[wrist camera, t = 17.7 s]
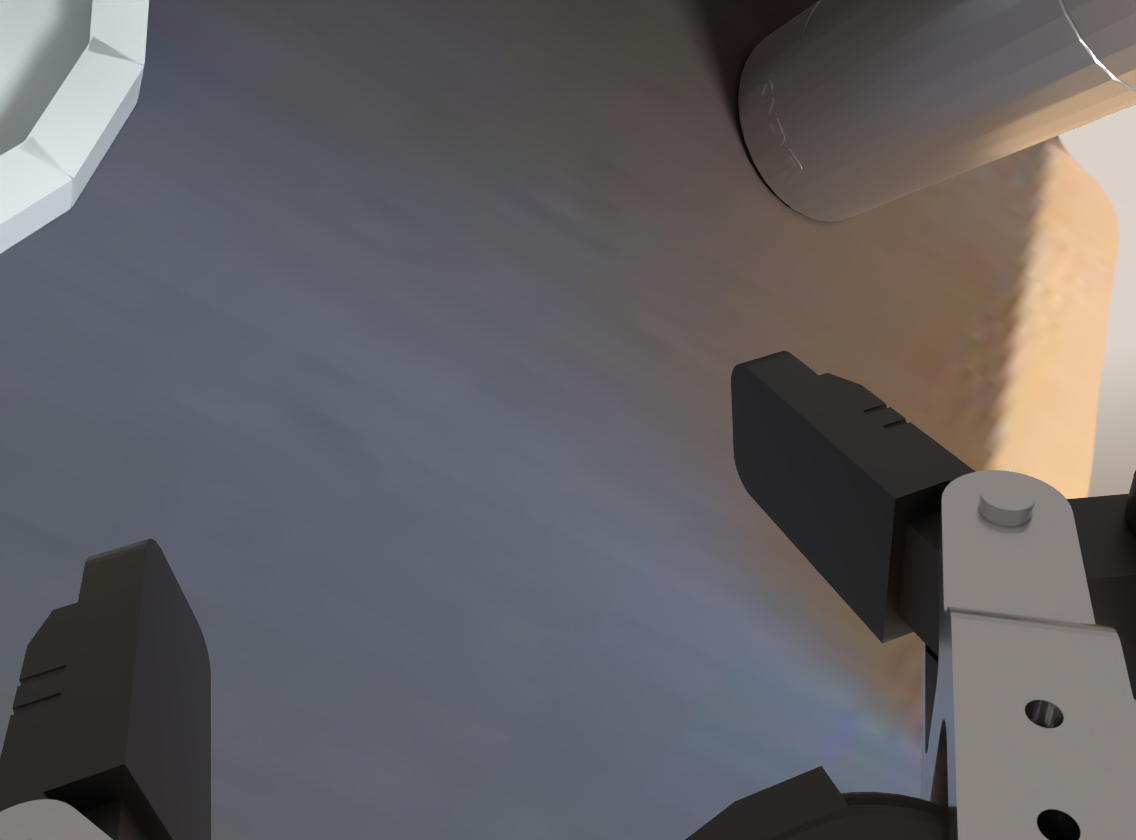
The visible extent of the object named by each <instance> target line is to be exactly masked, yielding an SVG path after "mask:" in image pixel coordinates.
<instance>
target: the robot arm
mask: <svg viewBox="0 0 1136 840" xmlns="http://www.w3.org/2000/svg"><path fill="white" fill-rule="evenodd" d="M738 103H739V115H740V123H741V127H742V131H743V135H744V139H745V143H746V145H747V148H748V150H749V152H750V155H751V157H752V160H753V162H754V164H755V166H756V167H757V169H758V171H759V172H760V174H761V175H762V177H763V179H764V180H765V182H766V183H767V184H768V185H769V187H770V188H771V189H772V190H773V191H774V193H775V194H776V195H777V196H778V197H779V198H780V199H781V200H783V201H784V202H785V203H786V204H787V205H789V206H790V207H791V208H792V209H793V210H795V211H797V212H799V213H801V214H803V215H805V216H806V217H808V218H812V219H816V220H819V221H823V222H833V221H841V220H844V219H847V218H850V217H853V216H856V215H858V214H861V213H863V212H866V211H868V210H871V209H873V208H876V207H878V206H881V205H883V204H886V203H888V202H891V201H893V200H896V199H898V198H901V197H903V196H906V195H908V194H911V193H914V192H917V191H919V190H922V189H924V188H927V187H929V186H932V185H934V184H937V183H939V182H942V181H944V180H947V179H949V178H952V177H954V176H957V175H960V174H962V173H965V172H967V171H970V170H972V169H975V168H977V167H980V166H982V165H985V164H987V163H990V162H992V161H995V160H997V159H1000V158H1002V157H1005V156H1007V155H1010V154H1012V153H1015V152H1017V151H1020V150H1022V149H1025V148H1027V147H1030V146H1032V145H1035V144H1037V143H1040V142H1042V141H1045V140H1047V139H1050V138H1052V137H1055V136H1057V135H1060V134H1062V133H1065V132H1067V131H1070V130H1072V129H1075V128H1077V127H1080V126H1082V125H1085V124H1087V123H1090V122H1093V121H1095V120H1097V119H1100V118H1102V117H1105V116H1107V115H1110V114H1112V113H1115V112H1118V111H1120V110H1122V109H1125V108H1128V107H1130V106H1133V105H1135V104H1136V0H819V1H817V2H816V3H814V4H813V5H812V6H810V7H809V8H807V9H806V10H804V11H803V12H802V13H800V14H799V15H797V16H796V17H794V18H793V19H792V20H790V21H789V22H787V23H786V24H784V25H783V26H781V27H780V28H779V29H777V30H776V31H774V32H773V33H771V34H770V35H769V36H767V37H766V38H764V39H763V40H762V41H761V42H760V43H759V44H758V45H757V46H756V47H755V48H754V49H753V51H752V52H751V54H750V56H749V57H748V59H747V61H746V62H745V65H744V69H743V72H742V75H741V78H740V86H739V96H738ZM731 390H732V417H733V445H734V459H735V464H736V468H737V471H738V474H739V476H740V479H741V481H742V483H743V485H744V487H745V489H746V490H747V492H748V493H749V494H750V496H751V497H752V498H753V499H754V500H755V501H756V502H757V503H758V505H759V506H760V507H761V508H762V509H763V510H764V511H765V512H766V514H767V515H768V516H769V517H770V518H771V519H772V520H773V521H774V523H775V524H776V525H777V526H778V527H779V528H780V529H781V530H782V531H783V533H784V534H785V535H786V536H787V537H788V538H789V539H790V540H791V542H792V543H793V544H794V545H795V546H796V547H797V548H798V549H799V550H800V552H801V553H802V554H803V555H804V556H805V557H806V558H807V559H808V561H809V562H810V563H811V564H812V565H813V566H814V567H815V568H816V569H817V571H818V572H819V573H820V574H821V575H822V576H823V577H824V578H825V580H826V581H827V582H828V583H829V584H830V585H831V586H832V587H833V588H834V590H835V591H836V592H837V593H838V594H839V595H840V596H841V597H842V599H843V600H844V601H845V602H846V603H847V604H848V605H849V606H850V608H851V609H852V610H853V611H854V612H855V613H856V614H857V615H858V616H859V618H860V619H861V620H862V621H863V622H864V623H865V624H866V625H867V627H868V628H869V629H870V630H871V631H872V632H873V633H874V634H875V635H876V637H877V638H878V639H879V640H880V641H881V642H882V643H885V642H888V641H890V640H893V639H896V638H898V637H901V636H903V635H906V634H909V633H911V632H915V633H916V634H917V635H918V636H919V637H920V638H921V639H922V640H923V641H924V648H923V656H922V772H921V796H920V799H919V798H914V797H909V796H905V795H900V794H890V793H880V792H850V793H842V794H841V793H840V792H839V790H838V789H837V788H836V786H835V785H834V783H833V782H832V780H831V779H830V778H829V776H828V775H827V773H826V772H825V770H824V769H823V768H822V766H820V767H818V768H815V769H813V770H811V771H808V772H806V773H803V774H801V775H798V776H796V777H794V778H791V779H789V780H786V781H784V782H781V783H779V784H777V785H774V786H772V787H769V788H767V789H764V790H762V791H760V792H757V793H755V794H752V795H750V796H747V797H745V798H743V799H740V800H738V801H735V802H734V803H733V804H731V805H730V806H729V807H727V808H726V809H725V810H723V811H722V812H721V813H720V814H718V815H717V816H716V817H714V818H713V819H712V820H710V821H709V822H708V823H707V824H705V825H704V826H703V827H701V828H700V829H699V830H697V831H696V832H695V833H694V834H692V835H691V836H690V837H688V838H687V839H686V840H1136V708H1135V703H1134V699H1135V700H1136V471H1135V474H1134V478H1133V481H1132V485H1131V489H1130V492H1129V494H1122V495H1110V496H1099V497H1088V498H1077V499H1066V498H1065V497H1064V496H1063V495H1062V494H1061V493H1060V492H1059V491H1057V490H1056V489H1055V488H1053V487H1052V486H1050V485H1048V484H1047V483H1045V482H1043V481H1041V480H1038V479H1036V478H1033V477H1030V476H1027V475H1024V474H1020V473H1015V472H1009V471H997V470H989V471H978V472H975V471H974V470H973V469H971V468H970V467H969V466H967V465H966V464H965V463H963V462H962V461H961V460H959V459H958V458H957V457H955V456H954V455H953V454H951V453H950V452H949V451H948V450H946V449H945V448H944V447H942V446H941V445H940V444H938V443H937V442H936V441H934V440H933V439H932V438H930V437H929V436H928V435H926V434H925V433H924V432H922V431H921V430H920V429H919V428H917V427H916V426H915V425H913V424H912V423H911V422H910V423H906V420H905V418H904V417H903V416H901V415H900V414H899V413H897V412H896V411H895V410H894V409H892V408H891V407H889V408H887V407H886V403H884V402H883V401H882V400H880V399H879V398H878V397H876V396H875V395H874V394H872V393H871V392H870V391H868V390H867V389H866V388H865V387H863V386H862V385H860V384H857V383H854V382H851V381H849V380H846V379H843V378H840V377H837V376H835V375H832V374H829V373H826V374H823V375H820V376H819V375H817V374H816V373H815V372H814V371H812V370H811V369H810V368H809V367H807V366H806V365H805V364H804V363H802V362H801V361H800V360H799V359H797V358H796V357H795V356H794V355H792V354H791V353H789V352H787V351H781V352H778V353H775V354H771V355H768V356H765V357H761V358H758V359H755V360H751V361H748V362H745V363H741V364H738V365H736V366H735V367H734V369H733V371H732V377H731ZM19 680H20V683H21V686H18V687H17V692H16V696H15V700H14V704H13V710H14V715H11V717H10V721H9V725H8V729H7V733H6V737H5V742H4V746H3V750H2V754H1V758H0V840H211V673H210V662H209V656H208V651H207V647H206V644H205V640H204V637H203V634H202V631H201V629H200V626H199V624H198V622H197V620H196V618H195V616H194V614H193V612H192V610H191V608H190V606H189V604H188V602H187V600H186V598H185V596H184V594H183V592H182V590H181V588H180V586H179V584H178V582H177V580H176V578H175V576H174V574H173V572H172V570H171V568H170V566H169V564H168V562H167V560H166V558H165V556H164V554H163V552H162V550H161V548H160V547H159V545H158V544H157V543H156V542H155V541H154V540H153V539H148V540H144V541H141V542H138V543H134V544H131V545H128V546H124V547H121V548H117V549H114V550H111V551H107V552H104V553H101V554H97V555H94V556H91V557H89V558H88V559H87V560H86V563H85V567H84V573H83V578H82V583H81V589H80V594H79V600H78V603H75V604H71V605H68V606H65V607H62V608H58V609H55V610H53V611H52V612H51V614H50V615H49V616H48V618H47V619H46V621H45V622H44V623H43V625H42V626H41V628H40V629H39V630H38V632H37V633H36V635H35V636H34V637H33V639H32V640H31V641H30V643H29V644H28V646H27V650H26V654H25V658H24V663H23V667H22V671H21V675H20V679H19ZM1133 698H1134V699H1133Z"/></svg>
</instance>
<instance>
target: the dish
mask: <svg viewBox="0 0 1136 840" xmlns="http://www.w3.org/2000/svg"><path fill="white" fill-rule="evenodd" d="M148 6H149V0H0V254H1V253H2V252H4V251H5V250H7V249H8V248H10V247H12V246H13V245H15V244H16V243H18V242H19V241H21V240H23V239H24V238H26V237H27V236H29V235H30V234H32V233H33V232H35V231H37V230H38V229H40V228H41V227H43V226H44V225H46V224H48V223H49V222H51V221H52V220H54V219H55V218H57V217H59V216H60V215H62V214H63V213H65V212H66V211H68V210H69V209H71V207H73V205H74V204H75V202H76V200H77V199H78V197H79V195H80V194H81V192H82V191H83V189H84V187H85V186H86V184H87V183H88V181H89V179H90V178H91V176H92V175H93V173H94V171H95V170H96V168H97V166H98V165H99V163H100V162H101V160H102V158H103V157H104V155H105V154H106V152H107V150H108V149H109V147H110V145H111V144H112V142H113V141H114V139H115V137H116V136H117V134H118V133H119V131H120V129H121V128H122V126H123V125H124V123H125V121H126V120H127V118H128V116H129V115H130V113H131V112H132V110H133V108H134V107H135V105H136V104H137V100H138V95H139V90H140V85H141V79H142V74H143V69H144V63H145V49H146V35H147V20H148Z"/></svg>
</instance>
